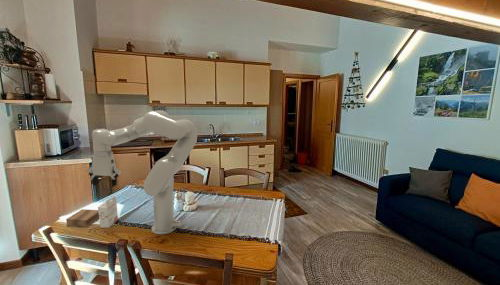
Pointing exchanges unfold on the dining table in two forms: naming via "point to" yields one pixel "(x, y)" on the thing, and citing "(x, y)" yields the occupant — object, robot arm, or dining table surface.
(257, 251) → the dining table surface
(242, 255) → the dining table surface
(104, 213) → the ink cartridge box
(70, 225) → the walnut block
